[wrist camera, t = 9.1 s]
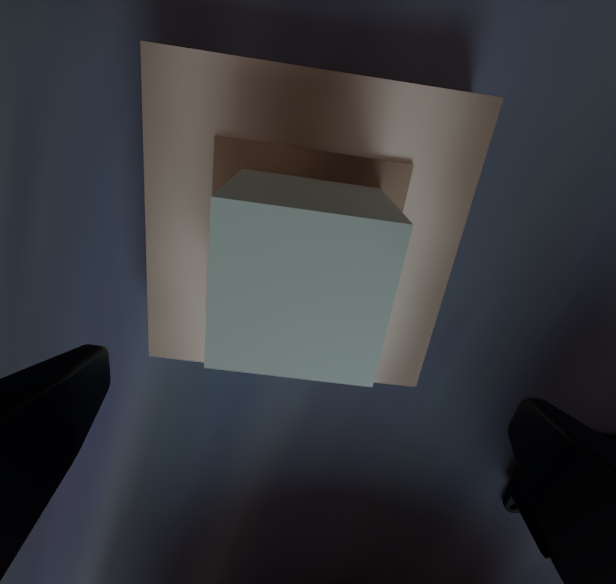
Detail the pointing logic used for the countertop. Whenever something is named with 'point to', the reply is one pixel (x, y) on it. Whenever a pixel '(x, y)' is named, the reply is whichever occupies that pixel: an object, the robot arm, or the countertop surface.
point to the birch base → (302, 175)
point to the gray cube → (301, 277)
